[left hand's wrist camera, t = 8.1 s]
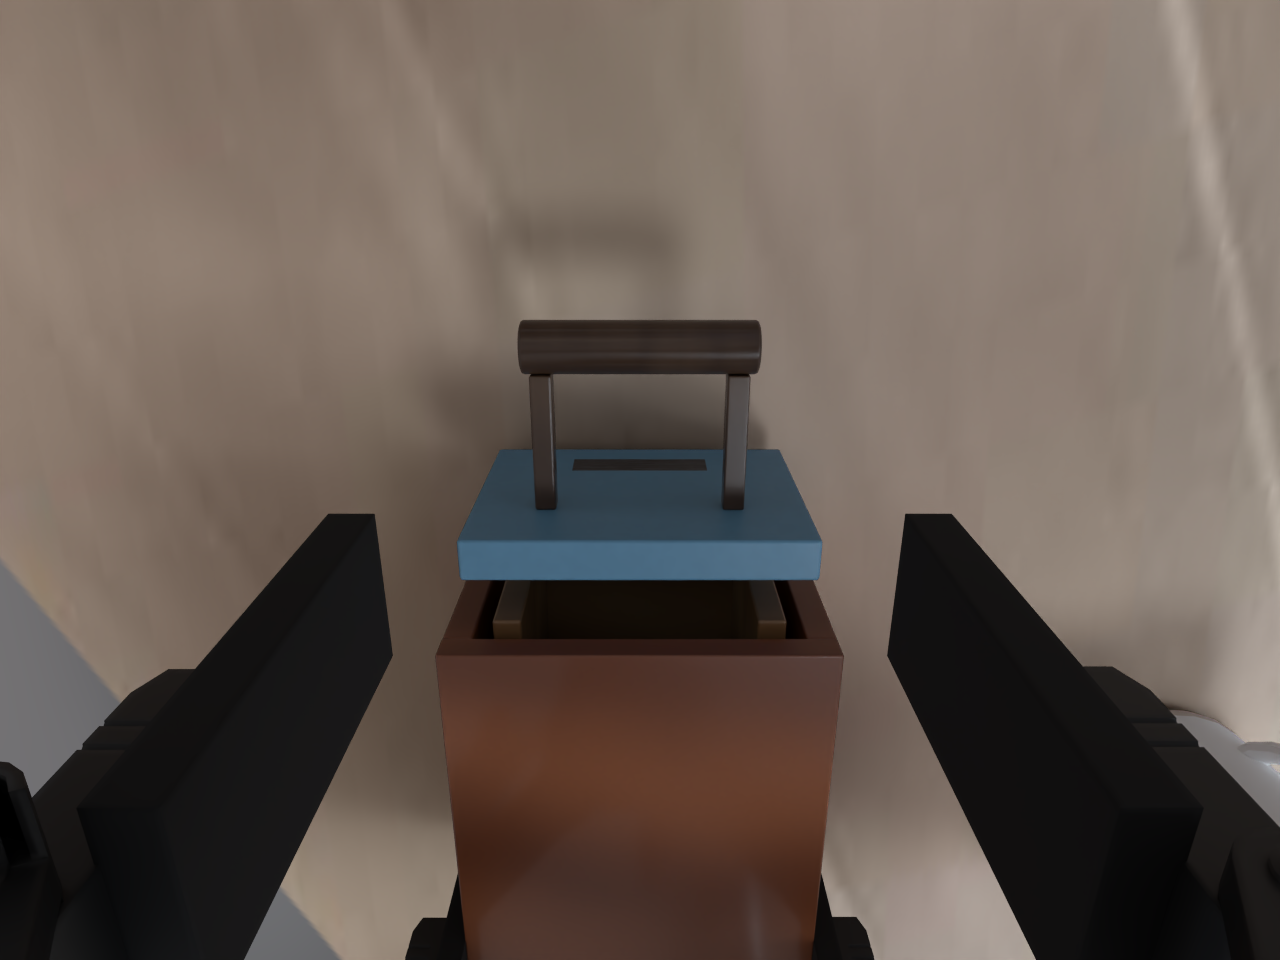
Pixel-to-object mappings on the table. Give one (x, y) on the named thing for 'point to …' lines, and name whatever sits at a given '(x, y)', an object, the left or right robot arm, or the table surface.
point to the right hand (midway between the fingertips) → (639, 852)
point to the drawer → (639, 503)
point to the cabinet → (639, 787)
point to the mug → (1240, 759)
